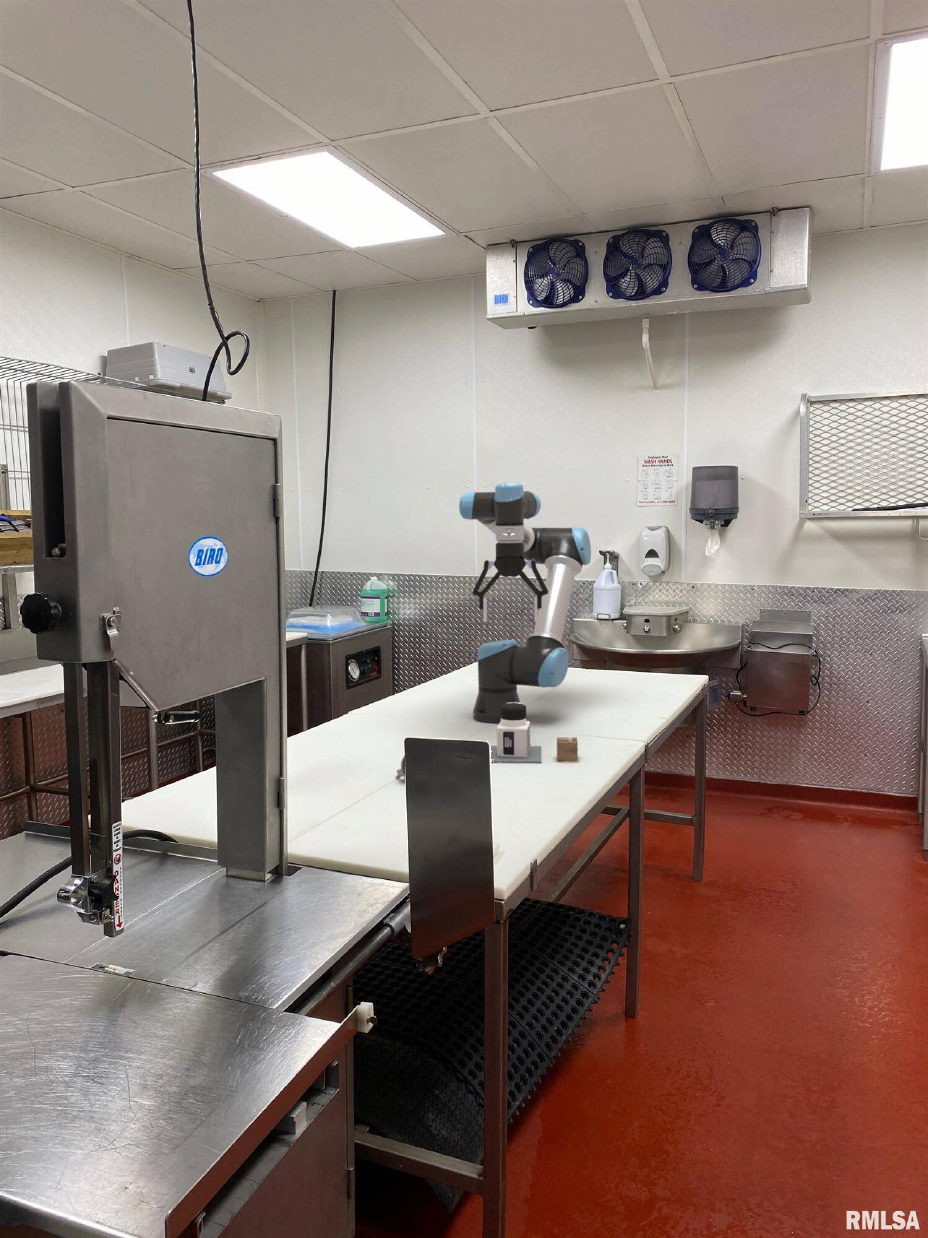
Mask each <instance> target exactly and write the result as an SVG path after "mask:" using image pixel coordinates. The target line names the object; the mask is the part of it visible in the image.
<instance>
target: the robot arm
mask: <svg viewBox="0 0 928 1238" xmlns="http://www.w3.org/2000/svg"><path fill="white" fill-rule="evenodd" d="M494 488H495V490H494V491H486V492H485V491H483V492H482V491H481V492H480V491H472V492H465V493H463V494H462V495H461V497H460V499H459V506H458V507H459V508H458V509H459V515H461V518H462V519H464V520H470V521H473V520H477V521H478V522H479V523H480V524H482V525H483V526H484V527H486V528H487V529H488V530H489V531H490V532H492V533H493V534H494V535H495V541H496V544H495V560H494V561H492V560H488V559H486V560H485V561H484V562H483V570H482V572H481V573H480V576H479V578H478V579H477V582H476V584H475V585H474V588H473V590H472V595H473V596H477V597H478V607H479V609H480V610H483V623H484V622H485V623H486V622H488V601H487V599H488V596H485V595H486V594H487V592H488V591H489V590H490V589H491V587H493V585H494V584H495V583H496V582H497V581H498V579H499V578H500V577H501V576H502V577H503V578H509V577H512V578H516V577H518V576H519V577H520V578H521V579H522V580H523V582H525V583H526V585H527V586H528V587H529V588H530V589H531V590H532V592H533V593H534V594H535V595H534V599H533V601H534V603H533V604H534V606H533V607H534V611H533V612H534V613H533V614H534V622H535V625H534V629H533V633H532V634H531V635H529V636H527V638H526V639H525V645H518V643H517V641H516V639H515V640H514V639H505V640H497V641H490V642H486V643H483V644H481V645H480V646H479V647H478V649H477V677H478V679H477V681H478V693H477V696H476V700H475V703H474V706H473V709H472V718H473V719H474V720H476V721H478V722H481V723H489V724H490V723H493V724H496V723H497V724H499V723H500V722H501V706H502V705H503V704H505V703H511V702H517V703H521V700H520V697H519V694H518V686H528V687H538V688H544V689H545V688H556V687H559V686H560V685H561V684H563V682H564V680H565V678H566V676H567V673H568V669H569V661H570V659H569V658H570V657H569V652H568V651H567V649H566V647H565V644H564V642H562V638H563V634H564V631H565V630H564V629H565V625H566V621H567V615H568V611H569V606H570V601H571V596H572V593H573V587H574V582H575V579H576V578H575V577H576V576H578V575H579V574H581V572H582V569H583V566H587V565H590V563H591V559H592V558H591V557H592V547H591V540H590V536H589V534H588V531H587V530H586V529H585V528H583V527H574V526H571V527H532V526H530V525H528V524H525V523H524V520H530V519H532V518H535V517H536V516H537V515H538V514H539V513H540V510H541V508H542V504H541V499H540V498H539V495H538V494H537V493H535V492H532V491H530V490H524V486H523V484H522V483H520V482H519V483H518V482H513V483H511V482H510V483H509V482H507V483H498V484H496V486H495V487H494ZM537 564H539V565H544V566H545V568H546V569H547V573H546V577H545V581H544V580H543V578H542V576H541V574H540V572H539V570H538V569H537ZM493 566H494V567H495V569H496V570H497V572H496V573H495V574H494V575H493V577H492V578H491V579H490V580H489V581H488V582H487V584H486V585H485V586H484V587H483V588H482V590H481V591H479V590H480V588H481V586H482V584H483V582H484V580H485V577H486V575H487V574H488V570H490V569H492V567H493ZM526 566H528V569H531V570H532V573H533V574H534V576H535V578H536V580H537V582H538V585H539V586H540V588H541V590H539V588H538V587H537V586H536V584H535V583H534V582H532V580H531V579H530V577H529V576H528V575H527V574H526V573H525V572H524V571H523V569H524V568H525V567H526Z"/></svg>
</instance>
